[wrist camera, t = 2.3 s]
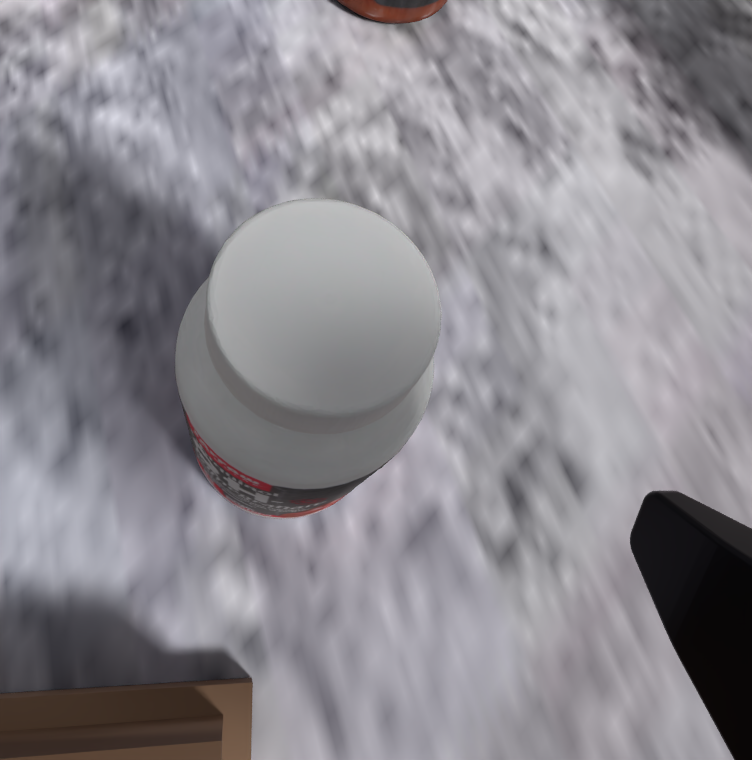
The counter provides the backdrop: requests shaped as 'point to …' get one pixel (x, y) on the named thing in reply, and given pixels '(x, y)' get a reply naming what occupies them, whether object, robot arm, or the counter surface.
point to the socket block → (130, 722)
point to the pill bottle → (306, 355)
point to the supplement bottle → (394, 9)
